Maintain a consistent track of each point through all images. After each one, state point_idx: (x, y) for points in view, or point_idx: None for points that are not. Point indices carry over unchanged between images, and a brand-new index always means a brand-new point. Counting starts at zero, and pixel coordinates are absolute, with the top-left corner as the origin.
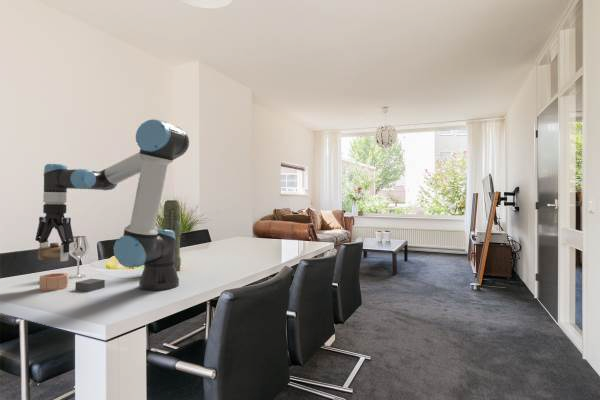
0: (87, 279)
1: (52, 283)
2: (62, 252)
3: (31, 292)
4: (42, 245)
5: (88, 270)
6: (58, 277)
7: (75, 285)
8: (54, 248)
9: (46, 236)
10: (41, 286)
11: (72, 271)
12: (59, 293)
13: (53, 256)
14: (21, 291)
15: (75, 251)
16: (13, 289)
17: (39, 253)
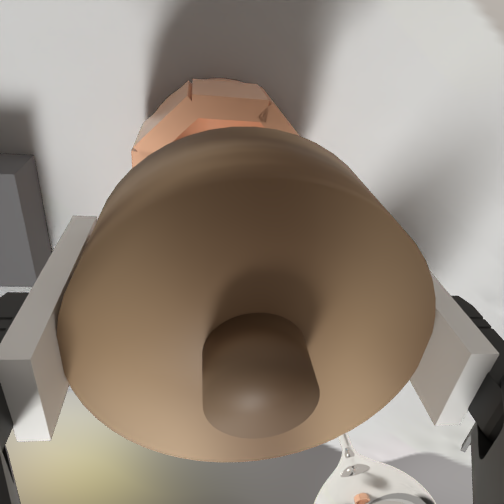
0: (32, 262)
1: (161, 110)
2: (40, 282)
3: (258, 13)
4: (447, 336)
5: (373, 455)
6: (132, 151)
7: (23, 166)
8: (124, 277)
9: (492, 498)
10: (240, 83)
11: (429, 425)
12: (37, 47)
13: (118, 193)
14: (350, 18)
15: (349, 495)
16: (447, 51)
17: (319, 161)
